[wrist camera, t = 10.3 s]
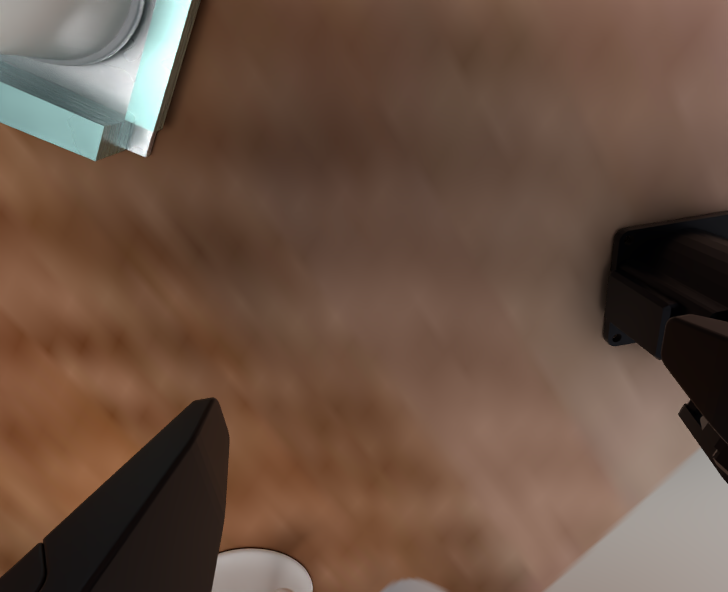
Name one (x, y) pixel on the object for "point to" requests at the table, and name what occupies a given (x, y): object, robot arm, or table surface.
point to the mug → (259, 572)
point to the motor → (103, 88)
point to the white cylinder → (67, 29)
